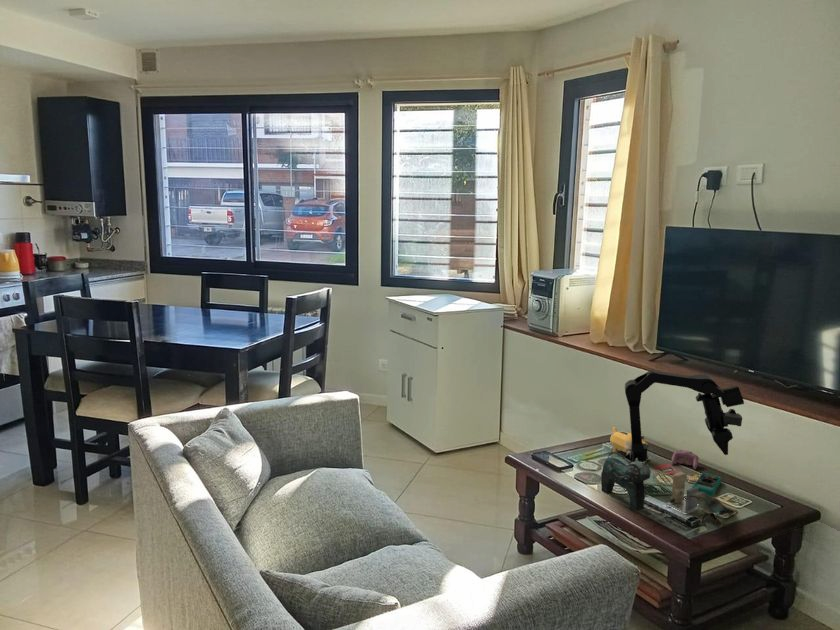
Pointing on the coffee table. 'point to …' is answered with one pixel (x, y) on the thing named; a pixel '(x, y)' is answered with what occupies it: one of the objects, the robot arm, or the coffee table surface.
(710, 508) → the bird figurine
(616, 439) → the dog
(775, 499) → the coffee table surface
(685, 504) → the gauge base
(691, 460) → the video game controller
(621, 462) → the green animal figurine
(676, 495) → the light brown wooden block
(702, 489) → the digital multimeter
